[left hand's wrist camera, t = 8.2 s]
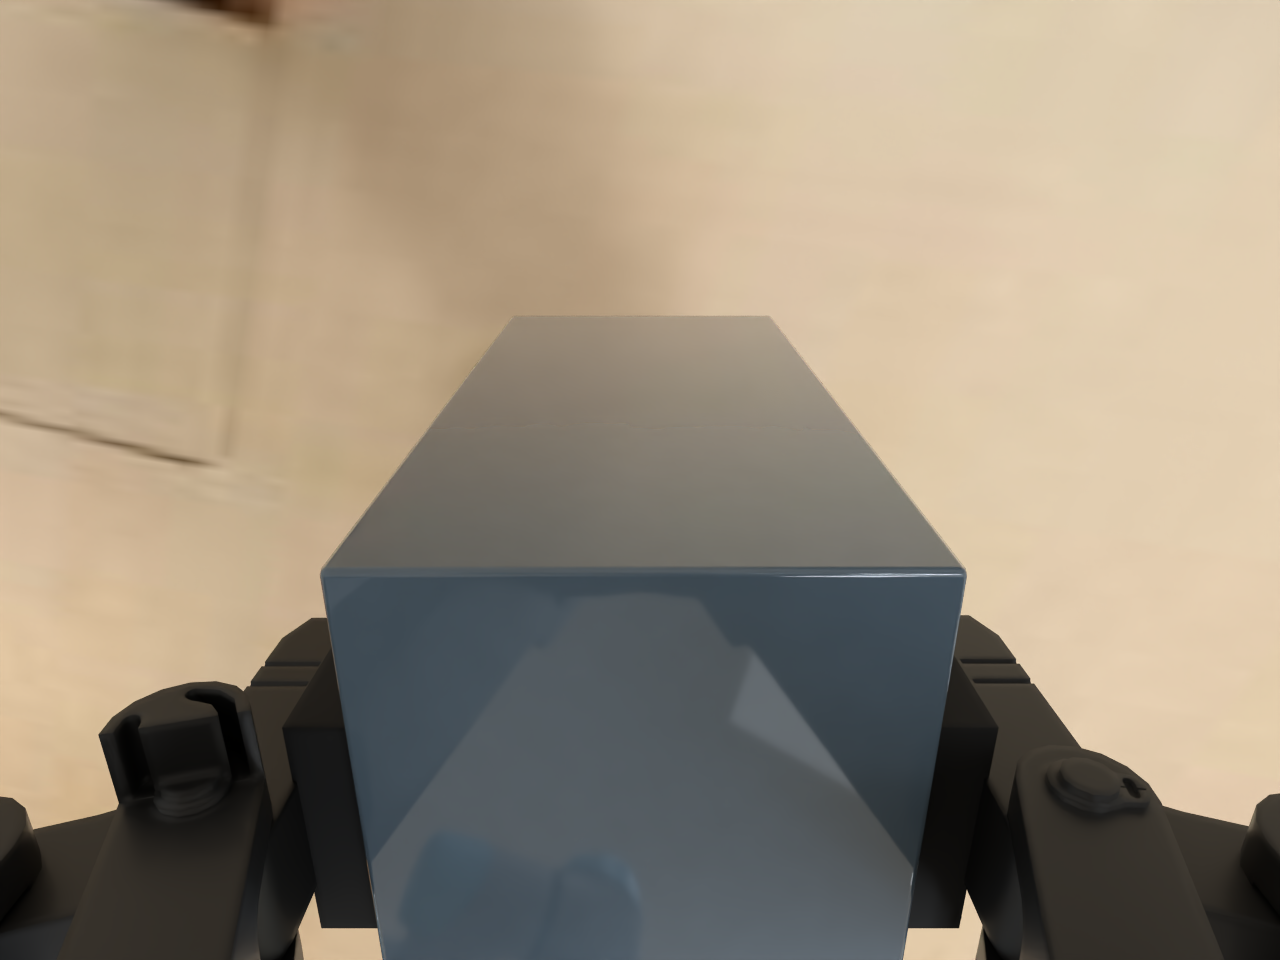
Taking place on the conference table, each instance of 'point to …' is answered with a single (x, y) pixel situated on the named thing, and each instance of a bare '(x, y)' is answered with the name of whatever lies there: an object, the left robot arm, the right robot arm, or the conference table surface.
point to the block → (642, 658)
